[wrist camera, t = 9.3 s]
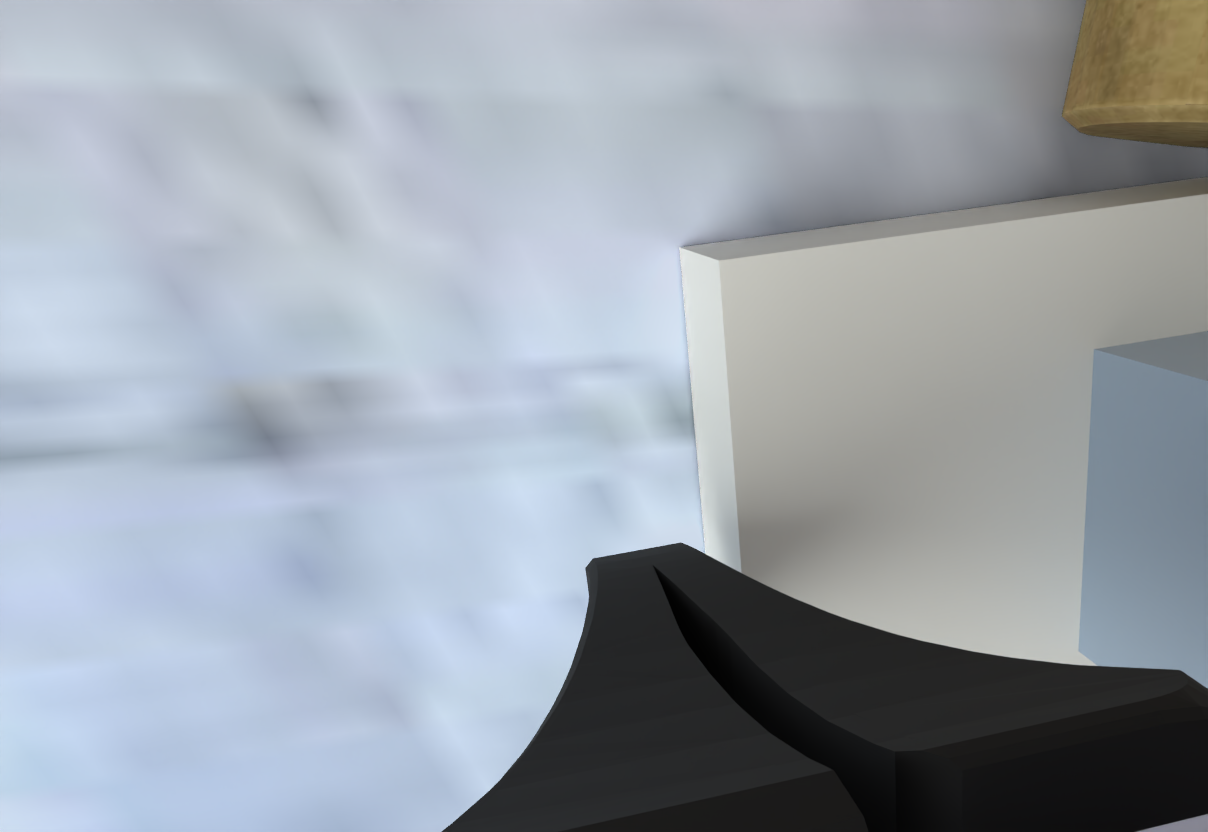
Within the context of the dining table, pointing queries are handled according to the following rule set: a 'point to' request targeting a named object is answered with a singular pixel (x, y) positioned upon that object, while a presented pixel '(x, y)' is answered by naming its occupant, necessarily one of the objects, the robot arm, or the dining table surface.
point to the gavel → (1141, 72)
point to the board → (928, 403)
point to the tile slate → (1148, 508)
